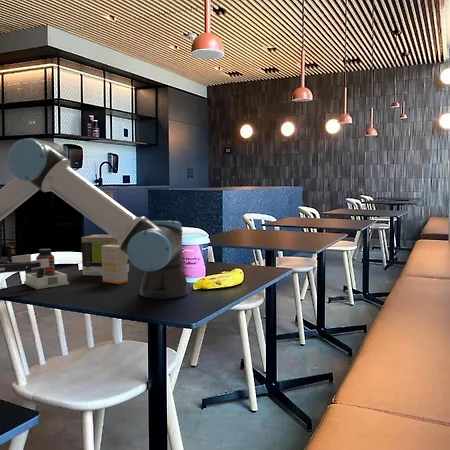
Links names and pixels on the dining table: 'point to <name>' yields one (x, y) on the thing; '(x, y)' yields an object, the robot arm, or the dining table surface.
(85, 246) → the tea box
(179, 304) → the dining table surface
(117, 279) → the supplement box
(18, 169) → the robot arm
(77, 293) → the dining table surface
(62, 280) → the shallow beige box
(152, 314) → the dining table surface
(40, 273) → the supplement bottle
